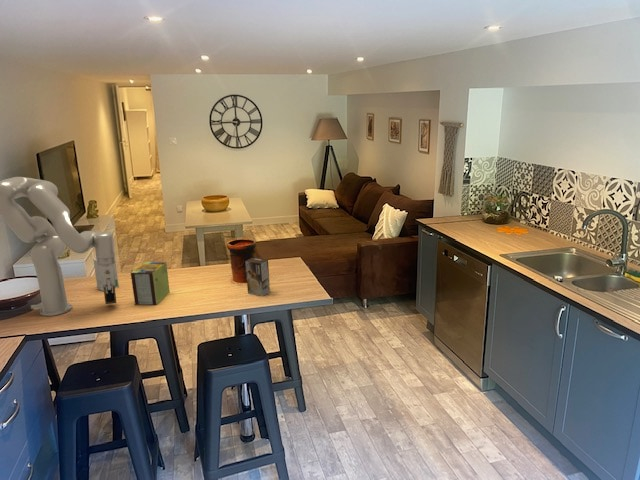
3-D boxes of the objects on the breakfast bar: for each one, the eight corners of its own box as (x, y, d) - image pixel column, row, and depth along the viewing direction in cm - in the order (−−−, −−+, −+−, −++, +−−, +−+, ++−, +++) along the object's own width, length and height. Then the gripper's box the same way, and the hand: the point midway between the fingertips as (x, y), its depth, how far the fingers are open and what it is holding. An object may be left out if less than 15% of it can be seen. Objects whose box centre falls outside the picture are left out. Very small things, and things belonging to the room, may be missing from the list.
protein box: (170, 292, 229) (166, 261, 225) (156, 305, 214) (152, 272, 210) (149, 292, 230) (145, 261, 226) (134, 304, 215) (129, 272, 211)
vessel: (225, 277, 247) (223, 240, 242) (252, 273, 253) (250, 237, 248) (232, 286, 235) (230, 247, 229) (260, 282, 241) (259, 243, 235)
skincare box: (103, 292, 231) (99, 261, 227) (96, 289, 235) (91, 259, 231) (119, 286, 238) (115, 256, 233) (112, 284, 241) (108, 254, 237)
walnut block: (105, 304, 210) (103, 287, 207) (105, 300, 213) (103, 284, 211) (116, 302, 211) (114, 286, 209) (115, 299, 215) (114, 282, 213)
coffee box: (270, 291, 227) (269, 259, 222) (263, 296, 221) (261, 263, 217) (254, 288, 231) (252, 257, 227) (246, 293, 226) (244, 261, 221)
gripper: (116, 264, 201) (120, 304, 206) (114, 254, 216) (118, 291, 221) (97, 267, 198) (101, 307, 203) (96, 255, 213) (100, 294, 218)
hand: (110, 298), depth 212 cm, fingers closed on walnut block, 4 cm apart
